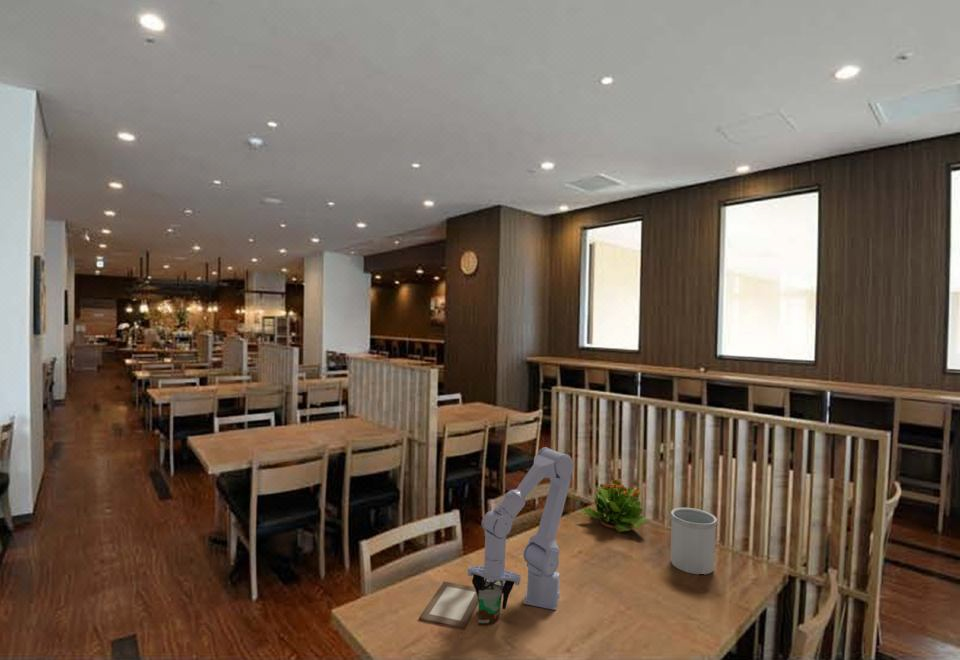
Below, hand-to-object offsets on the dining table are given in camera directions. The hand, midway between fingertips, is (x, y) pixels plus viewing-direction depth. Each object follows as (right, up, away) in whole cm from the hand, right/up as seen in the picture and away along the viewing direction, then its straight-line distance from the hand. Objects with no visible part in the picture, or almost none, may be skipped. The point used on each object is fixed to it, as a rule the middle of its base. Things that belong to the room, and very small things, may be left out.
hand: (492, 604), depth 138 cm
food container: (0, -4, 0) cm, 4 cm away
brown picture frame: (-11, -3, +5) cm, 13 cm away
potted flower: (+51, -5, +69) cm, 86 cm away
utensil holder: (+70, -6, +36) cm, 79 cm away
